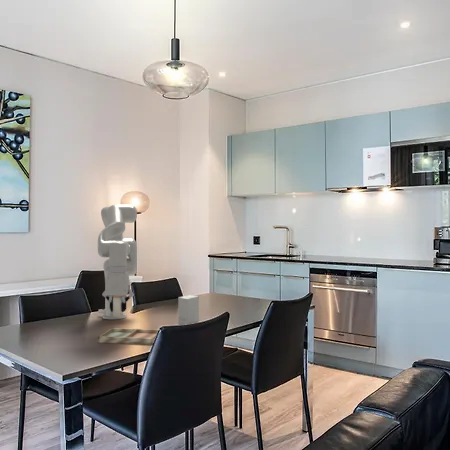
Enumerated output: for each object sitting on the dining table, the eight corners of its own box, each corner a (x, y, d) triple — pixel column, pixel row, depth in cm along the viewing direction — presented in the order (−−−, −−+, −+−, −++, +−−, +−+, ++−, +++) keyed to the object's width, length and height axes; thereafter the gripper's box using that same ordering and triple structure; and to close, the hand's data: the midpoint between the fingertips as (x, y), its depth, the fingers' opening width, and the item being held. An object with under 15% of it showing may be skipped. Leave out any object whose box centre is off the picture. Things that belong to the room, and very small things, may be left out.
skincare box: (189, 326, 227) (189, 294, 226) (199, 328, 222) (199, 296, 222) (177, 329, 220) (177, 296, 220) (187, 331, 216) (187, 298, 216)
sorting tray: (97, 342, 196) (97, 336, 196) (111, 333, 212) (111, 328, 212) (152, 344, 193) (152, 338, 193) (162, 335, 209) (162, 329, 209)
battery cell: (111, 317, 201) (111, 292, 201) (115, 315, 205) (115, 290, 205) (121, 317, 200) (121, 292, 200) (124, 315, 205) (124, 291, 205)
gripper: (96, 270, 200) (96, 312, 200) (133, 270, 198) (133, 313, 198) (103, 268, 208) (103, 309, 208) (139, 269, 205) (139, 310, 205)
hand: (118, 310), depth 203 cm, fingers closed on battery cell, 4 cm apart
